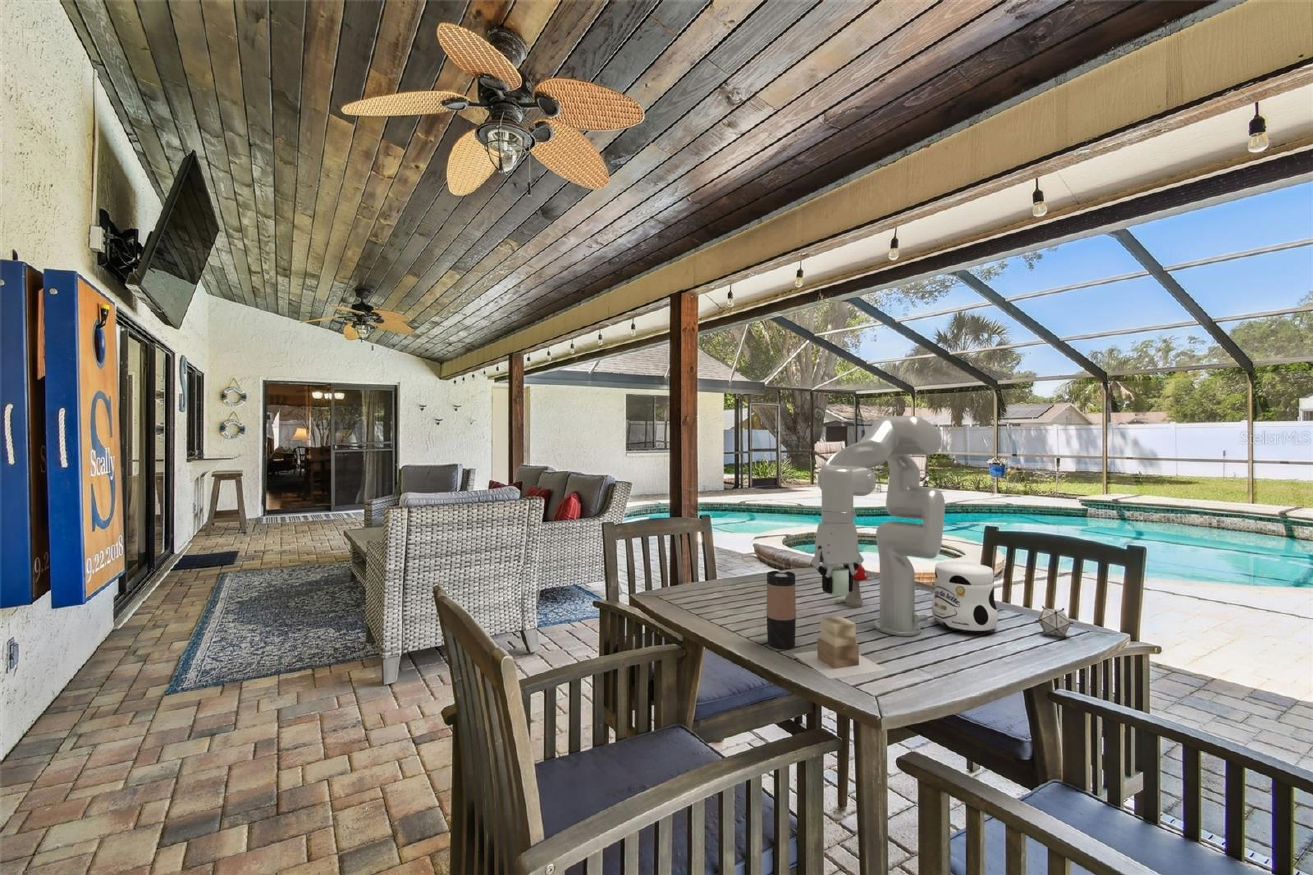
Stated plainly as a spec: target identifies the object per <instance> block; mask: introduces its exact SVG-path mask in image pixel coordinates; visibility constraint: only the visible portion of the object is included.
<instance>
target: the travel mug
mask: <svg viewBox="0 0 1313 875" xmlns="http://www.w3.org/2000/svg"><path fill="white" fill-rule="evenodd" d="M796 596H797V595H796V573H794V572H793V571H785V572H779V571H778V570H771V571H768V572H766V631H767V632H766V635H767V645H768V646H769V647H770V648H772V649H776V650H783V651H784V650H792V649H794V648H795V646H796V624H797V622H796V621H797V619H796V617H797V616H796V614H797V613H796V612H797V611H796V610H797V607H796V606H797V605H796V602H797V601H796Z"/></svg>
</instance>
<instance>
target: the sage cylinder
mask: <svg viewBox="0 0 1313 875" xmlns="http://www.w3.org/2000/svg"><path fill="white" fill-rule="evenodd" d="M830 577H832V594H829V593H826V594H827V595H829V596H833V597H846V596H848V595H849V570H848V569H846V568H843V566H842V567H841V566H833V567H832V571H831V575H830Z"/></svg>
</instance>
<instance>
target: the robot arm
mask: <svg viewBox="0 0 1313 875" xmlns="http://www.w3.org/2000/svg"><path fill="white" fill-rule="evenodd" d="M866 431H867V432H866V433H865V434H864V435H863V437H862V438H861V439H860V441H858V442H855V443H853V444H850V445H848V446H846V447H844V448H842V449H840V450H838V451H835V452H834V453H833V454H831V455H830V456H829V457H828V458H827V460H826V461H825V463H823V465H822V467H821V468H820V470H819V472H818V476H817V484H818V487H819V489H820V490H821V522H818V524H817V529H816V533H815V534H816V535H815V543H814V556H813V558H812V559H811V560H810V565H811V566H812V567H814V569H815V570H816V571H817V572H818V573H819V575H820V576H821V588H822V591H823V592H825V593H826V594H827V593H829V594H832V577H830V575H831V571H832V567H834V566H841V565H842V568H846V569H848V570H849V592H852V591H853V575H855V571H856V570H857V569H858V567H859V565H860V564H862V563H863V562H864V561H865V559H864V557H863V556H862V555H861V553H860V552H859V536H858V531H857V526H856V523H855V522H854V518H855V519H856V518H857V513H856V512H854V496H855V497H865V496H869V495H870V494H871V493H873V492H874V491H875V488H876V487H877V486H876V485H877V477H876V474H875V473H874V472H873V470H872V469H871V468H875V467H878V466H881V465H883V464H884V463H885V462H887V464H888V467H889V468H888V469H889V476H888V484H887V493H886V498H885V499H886V500H885V506H886V507H885V508H886V512H887V513H888V515H890V516H892V517H894V518H898V519H899V518H900V519H906V520H907V519H909V520H918V521H919V520H921V521H923V523H914V522H913V523H912V522H905V521H895V520H893V521H884V522H882V523H880V524H879V525H878V526H877V528H876V531H875V540H876V545H877V550H878V557H879V558H878V561H879V619H877V620H875V621H874V625H873V627H874V628H875V629H876V631H879V632H880V633H884V634H887V635H890V636H891V635H892V636H898V637H901V636H902V637H912V636H918V635H919V634H921V632H922V631H921V630H922V628H921V626H920V625H919V624H920V622H927V621H928V620H929V619H928V618H929V616H928V615H927V614H917V613H916V612H915V611H916V610H915V609H916V605H915V604H916V597H915V596H916V594H915V593H916V592H915V591H916V590H915V588H916V585H915V581H916V580H915V579H916V576H915V575H916V574H915V572H916V571H915V569H914V566H913V564H912V562H911V561H910V559H909V558H908V557H914V558H920V559H928V560H929V559H931V560H932V559H935V558H937V557H938V556H939V555H940V552H941V548H942V542H943V534H944V533H943V532H944V523H945V512H946V511H945V510H946V500H945V497H944V495H943V493H942V492H941V490H940V489H938V488H935V487H928V486H927V487H925V486H920V480H921V470H920V468H919V466H918V464H917V463H916V462H915V461H914V460H913V458H912V457H911V456H913V455H914V456H915V455H916V456H932V455H935V454H936V453H938V452H939V451H940V449H941V446H942V435H941V432H940V430H939V428H937V427H936V426H935V425H934V424H933V423H931V422H929V421H928V420H926V419H924V418H923V417H919V416H917V415H893V416H892V415H891V416H882V417H880V418H878V419H876V420H875V421H874V423H872V425H871V426H870V427H869V429H868V430H866ZM820 563H821V564H820ZM829 594H828V595H829Z"/></svg>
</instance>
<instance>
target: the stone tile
mask: <svg viewBox="0 0 1313 875" xmlns="http://www.w3.org/2000/svg"><path fill="white" fill-rule="evenodd" d="M792 656H794V657H796V658H797V659H798V660H800V661H802V662H803V663H805V665H808V666H809V667H811V668H812V669H814V670H815V671H817V672H819V673H820V674H821V675H823V676H824V677H826V678H828V679H829V680H833V679H838V678H839V679H840V678H845V677H846V678H847V677H852V676H857V675H858V676H859V675H865V674H870V673H877V672H881V671H882V672H883V671H888V669H886V668H884V667H882V666H881V665H879V664H877V663H875V662H873V661H871V660H870V659H868V658H867V657H864V656H863V655H861V654H859V665H857V666H850V667H844V668H837V669H834V668H832V667H831V666H829V665H827V664H826V663H824V662H823V661H821V660H819V659H818V658H817V650H812V651H805V652H804V651H803V652H799V653H798V652H797V653H792Z"/></svg>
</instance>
